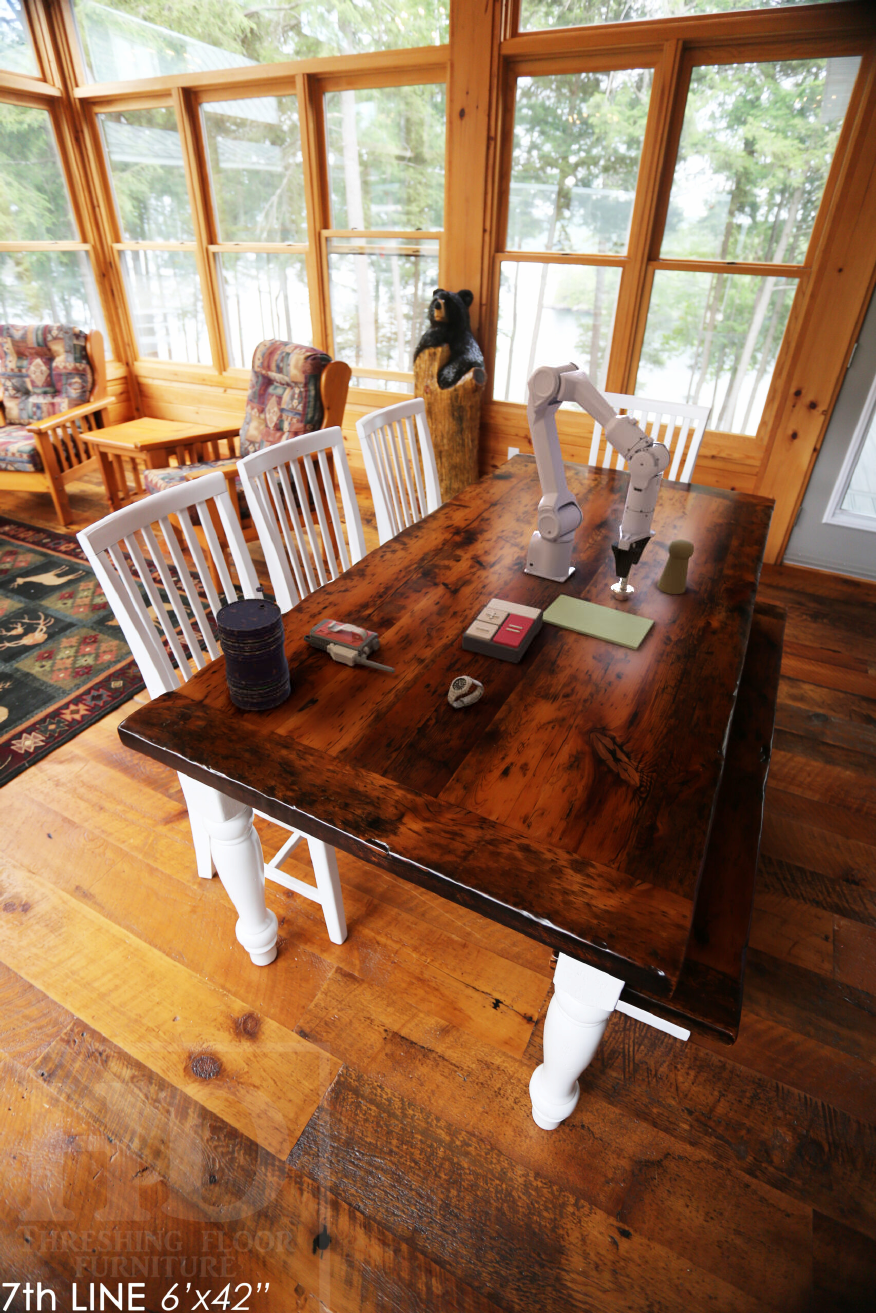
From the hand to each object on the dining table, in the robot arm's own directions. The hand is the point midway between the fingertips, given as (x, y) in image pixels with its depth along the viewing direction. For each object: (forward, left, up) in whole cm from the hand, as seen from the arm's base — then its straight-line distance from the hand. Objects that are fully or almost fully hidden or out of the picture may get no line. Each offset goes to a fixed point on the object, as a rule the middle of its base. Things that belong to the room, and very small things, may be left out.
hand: (626, 570), depth 135 cm
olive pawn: (+8, +11, -7) cm, 15 cm away
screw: (0, 0, -7) cm, 7 cm away
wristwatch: (-10, -51, -7) cm, 52 cm away
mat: (-1, -13, -7) cm, 15 cm away
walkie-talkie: (-34, -49, -7) cm, 60 cm away
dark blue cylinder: (-40, -67, -7) cm, 78 cm away
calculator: (-14, -29, -7) cm, 33 cm away
